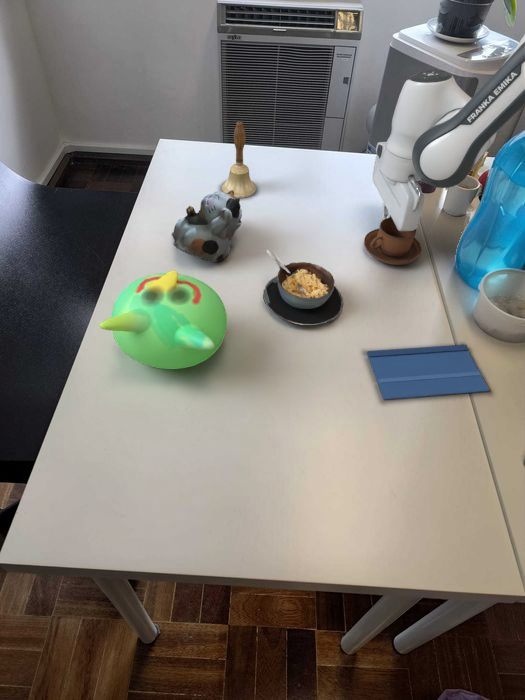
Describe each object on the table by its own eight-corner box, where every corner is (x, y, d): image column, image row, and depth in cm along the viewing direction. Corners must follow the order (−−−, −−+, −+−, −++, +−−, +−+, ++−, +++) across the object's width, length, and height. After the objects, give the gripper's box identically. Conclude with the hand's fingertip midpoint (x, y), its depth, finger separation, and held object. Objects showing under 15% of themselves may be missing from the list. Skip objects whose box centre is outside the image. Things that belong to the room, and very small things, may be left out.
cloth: (464, 346, 83) (465, 343, 83) (488, 391, 77) (490, 389, 77) (366, 352, 81) (367, 350, 81) (383, 400, 75) (384, 397, 74)
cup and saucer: (399, 278, 95) (408, 253, 90) (351, 251, 100) (357, 226, 95) (429, 252, 101) (438, 228, 96) (382, 228, 106) (389, 204, 101)
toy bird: (231, 320, 85) (231, 255, 74) (220, 397, 74) (218, 333, 63) (132, 312, 85) (117, 246, 74) (106, 388, 74) (84, 322, 63)
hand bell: (258, 197, 112) (261, 130, 100) (223, 198, 111) (222, 130, 99) (253, 179, 117) (256, 113, 105) (220, 180, 116) (219, 113, 104)
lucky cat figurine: (171, 228, 102) (195, 166, 96) (222, 249, 106) (248, 191, 99) (167, 253, 89) (193, 184, 83) (225, 276, 93) (254, 211, 87)
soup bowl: (287, 340, 82) (291, 310, 77) (247, 285, 91) (248, 254, 86) (357, 315, 87) (366, 285, 82) (312, 265, 96) (317, 234, 91)
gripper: (439, 191, 85) (416, 253, 96) (403, 139, 98) (387, 198, 109) (406, 192, 84) (386, 254, 95) (374, 139, 98) (360, 198, 108)
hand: (386, 223), depth 102 cm, fingers closed
